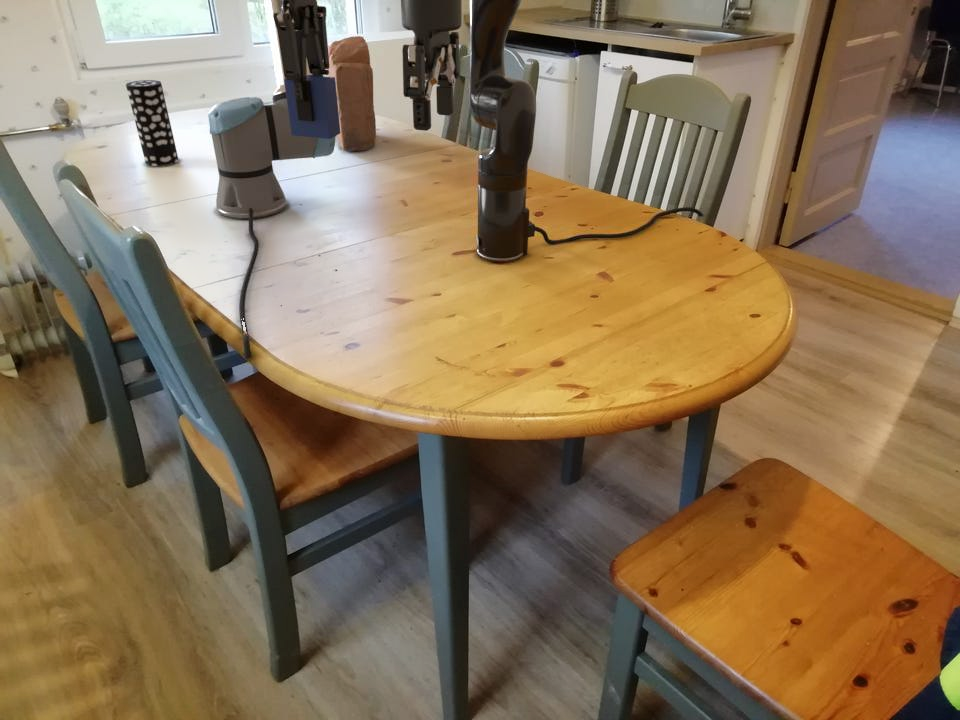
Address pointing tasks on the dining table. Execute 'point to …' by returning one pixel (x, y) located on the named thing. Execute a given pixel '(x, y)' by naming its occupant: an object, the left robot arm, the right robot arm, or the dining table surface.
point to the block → (315, 109)
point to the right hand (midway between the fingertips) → (434, 121)
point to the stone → (353, 93)
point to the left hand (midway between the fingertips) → (313, 116)
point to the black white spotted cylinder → (152, 122)
